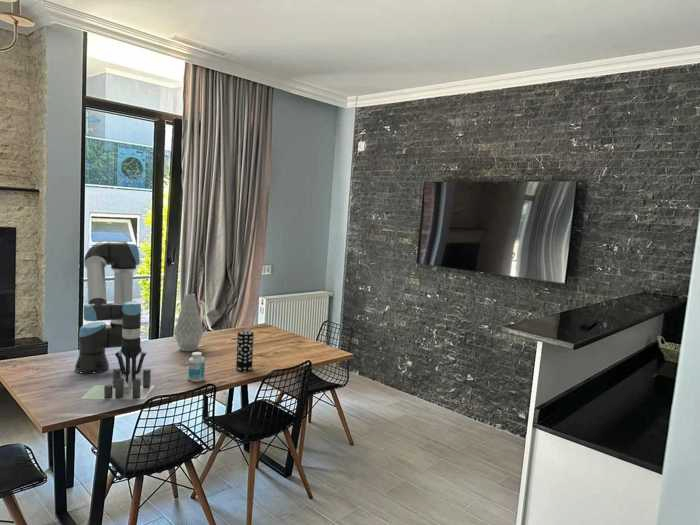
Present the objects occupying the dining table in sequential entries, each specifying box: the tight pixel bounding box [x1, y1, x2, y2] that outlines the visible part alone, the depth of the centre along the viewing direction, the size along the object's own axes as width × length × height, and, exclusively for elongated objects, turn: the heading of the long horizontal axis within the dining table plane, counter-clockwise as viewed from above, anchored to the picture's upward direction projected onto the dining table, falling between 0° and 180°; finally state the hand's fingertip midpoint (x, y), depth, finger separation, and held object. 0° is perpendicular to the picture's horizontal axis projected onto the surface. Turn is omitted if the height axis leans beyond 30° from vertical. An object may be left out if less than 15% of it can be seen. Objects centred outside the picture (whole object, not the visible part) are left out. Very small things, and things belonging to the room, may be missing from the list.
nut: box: [123, 382, 130, 394], centre depth 223 cm, size 5×6×3 cm
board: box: [80, 384, 155, 400], centre depth 223 cm, size 26×17×1 cm, turn 98°
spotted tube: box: [235, 330, 254, 373], centre depth 266 cm, size 8×8×20 cm
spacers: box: [104, 368, 152, 400], centre depth 223 cm, size 16×16×8 cm
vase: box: [173, 293, 204, 352], centre depth 297 cm, size 17×17×33 cm
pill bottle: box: [188, 351, 206, 383], centre depth 247 cm, size 8×7×14 cm
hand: (130, 388), depth 224 cm, fingers closed
